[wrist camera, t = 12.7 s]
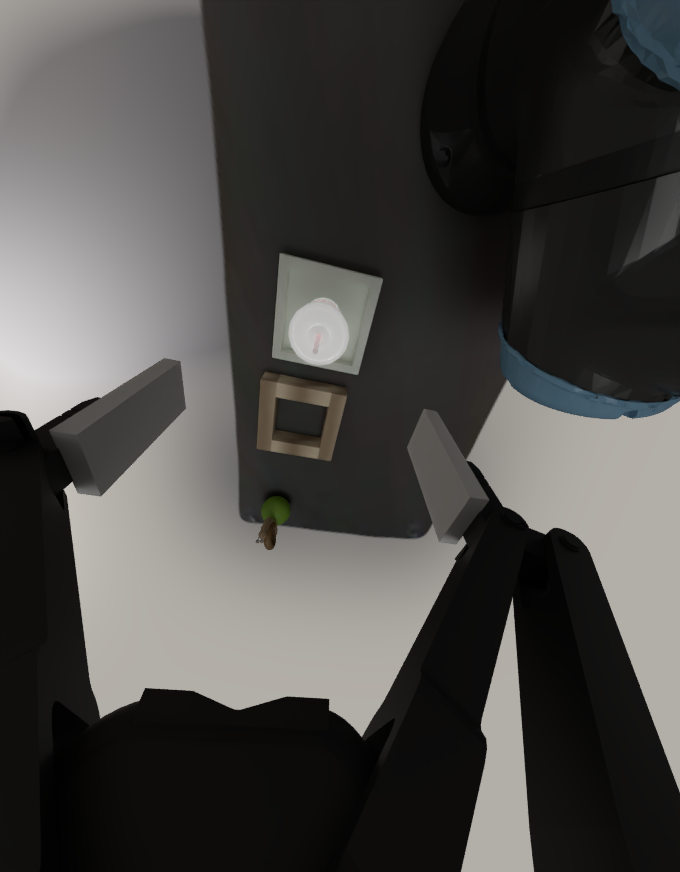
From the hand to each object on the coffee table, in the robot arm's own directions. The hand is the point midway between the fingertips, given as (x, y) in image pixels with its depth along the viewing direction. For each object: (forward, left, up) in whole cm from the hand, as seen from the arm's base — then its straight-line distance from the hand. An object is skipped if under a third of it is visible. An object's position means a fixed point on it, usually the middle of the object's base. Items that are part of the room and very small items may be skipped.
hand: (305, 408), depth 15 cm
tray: (0, 0, -25) cm, 25 cm away
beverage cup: (0, 0, -24) cm, 24 cm away
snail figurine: (+3, +35, -25) cm, 43 cm away
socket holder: (+1, +15, -25) cm, 29 cm away
